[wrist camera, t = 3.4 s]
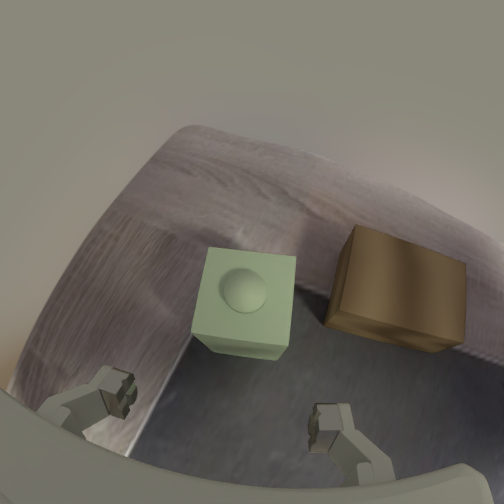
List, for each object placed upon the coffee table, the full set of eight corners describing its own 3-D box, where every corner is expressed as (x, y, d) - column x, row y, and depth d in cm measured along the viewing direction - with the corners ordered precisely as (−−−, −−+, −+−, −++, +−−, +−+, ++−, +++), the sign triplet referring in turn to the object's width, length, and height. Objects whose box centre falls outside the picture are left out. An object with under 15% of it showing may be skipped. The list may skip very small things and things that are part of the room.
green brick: (283, 300, 23) (297, 252, 15) (276, 360, 20) (289, 344, 13) (223, 292, 23) (207, 242, 16) (213, 351, 21) (188, 330, 13)
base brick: (437, 285, 23) (465, 263, 19) (430, 353, 20) (463, 342, 16) (339, 253, 25) (355, 224, 20) (322, 326, 22) (339, 309, 17)
